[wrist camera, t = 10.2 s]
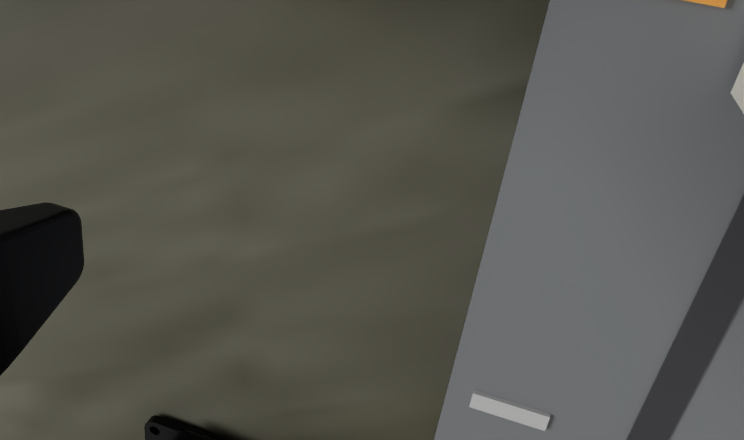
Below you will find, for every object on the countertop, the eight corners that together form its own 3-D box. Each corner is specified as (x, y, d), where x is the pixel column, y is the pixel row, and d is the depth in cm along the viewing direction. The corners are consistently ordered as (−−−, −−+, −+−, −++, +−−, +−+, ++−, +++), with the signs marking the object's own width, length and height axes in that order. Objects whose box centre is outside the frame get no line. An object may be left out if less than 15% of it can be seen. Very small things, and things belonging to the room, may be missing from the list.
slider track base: (771, 551, 22) (787, 612, 20) (434, 439, 25) (421, 486, 23) (1378, -275, 11) (1542, -307, 9) (641, -343, 13) (649, -379, 11)
